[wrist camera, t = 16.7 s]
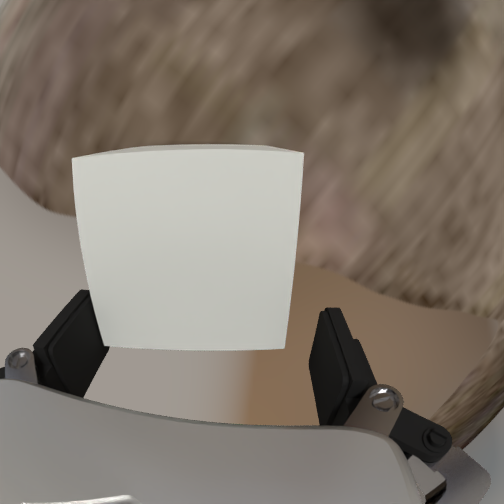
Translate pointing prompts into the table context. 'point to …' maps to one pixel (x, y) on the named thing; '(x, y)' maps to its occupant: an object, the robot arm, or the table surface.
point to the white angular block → (190, 244)
